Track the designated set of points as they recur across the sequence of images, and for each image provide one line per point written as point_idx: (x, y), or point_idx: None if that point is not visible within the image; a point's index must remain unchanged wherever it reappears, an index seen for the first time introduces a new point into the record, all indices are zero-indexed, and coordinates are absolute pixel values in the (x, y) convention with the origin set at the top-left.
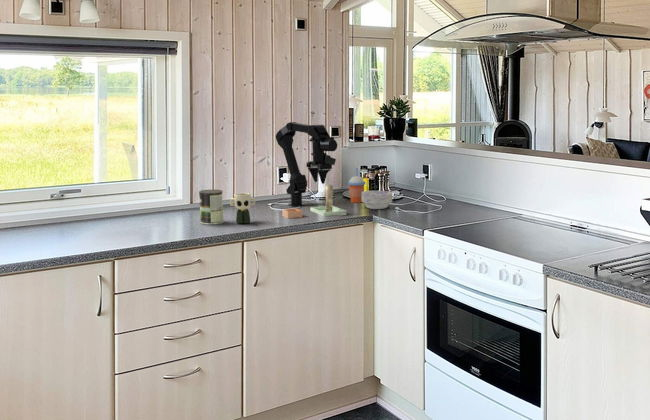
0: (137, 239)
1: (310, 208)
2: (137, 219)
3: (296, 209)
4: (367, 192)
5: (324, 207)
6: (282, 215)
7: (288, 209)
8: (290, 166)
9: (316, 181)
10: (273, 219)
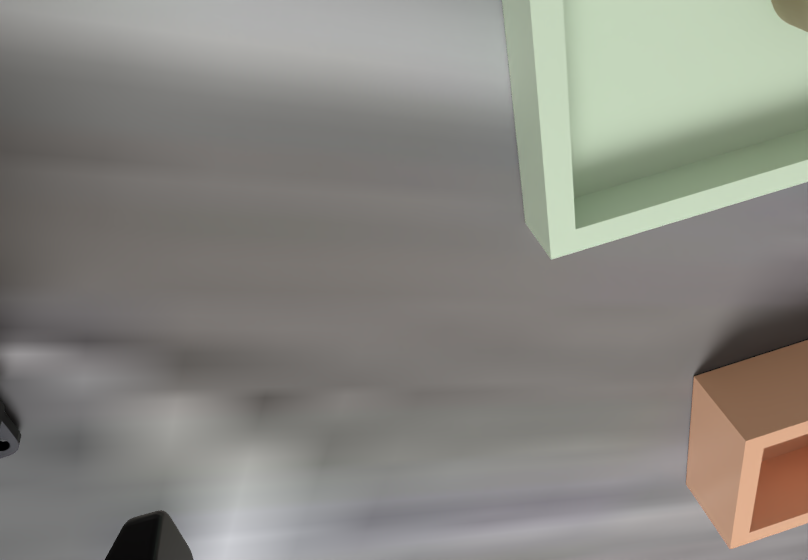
0: None
1: (549, 250)
2: None
3: (787, 435)
4: None
5: (558, 8)
6: (697, 496)
7: (753, 503)
8: None
9: (175, 536)
10: None
